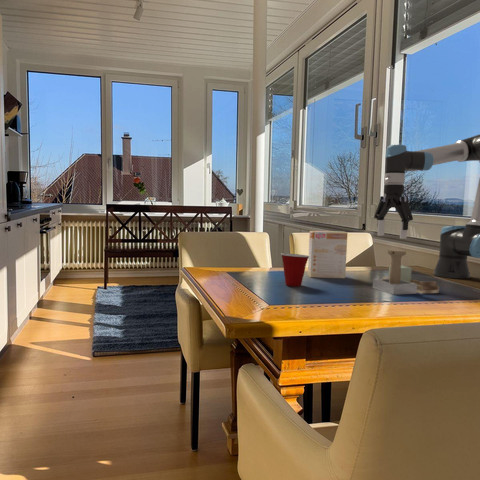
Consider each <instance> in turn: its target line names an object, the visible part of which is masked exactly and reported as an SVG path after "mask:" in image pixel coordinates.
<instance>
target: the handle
mask: <svg viewBox="0 0 480 480" xmlns="http://www.w3.org/2000/svg"><path fill="white" fill-rule="evenodd" d="M387 254H388V255H390V256H391V257H390V265H389V266H390V275H389V274H388V276H389V283H392V284H400V279H401V265H402V257H404V256H405V255H406V254H407V251H406V250H402V249H390V248H389V249H387Z"/></svg>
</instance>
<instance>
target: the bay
mask: <svg viewBox="0 0 480 480" xmlns="http://www.w3.org/2000/svg"><path fill="white" fill-rule="evenodd" d="M382 279H389V277H388V276H382ZM411 283H415V284H417V293H416V294H439V293H440V285H437V281H436V280H435V281H420V280H417V279H413V278H411Z"/></svg>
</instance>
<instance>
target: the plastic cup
mask: <svg viewBox="0 0 480 480" xmlns="http://www.w3.org/2000/svg"><path fill="white" fill-rule="evenodd" d="M280 255H281V259H282V266H283V275H284V282H285V286H287V287H301V286H302V283H303V280H304V279H303V278H304V275H305V270H306V266H307V264H308V258H309V257H310V256H309V255H307V254H306V255H305V254H297V253H283V252H281V253H280Z"/></svg>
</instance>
